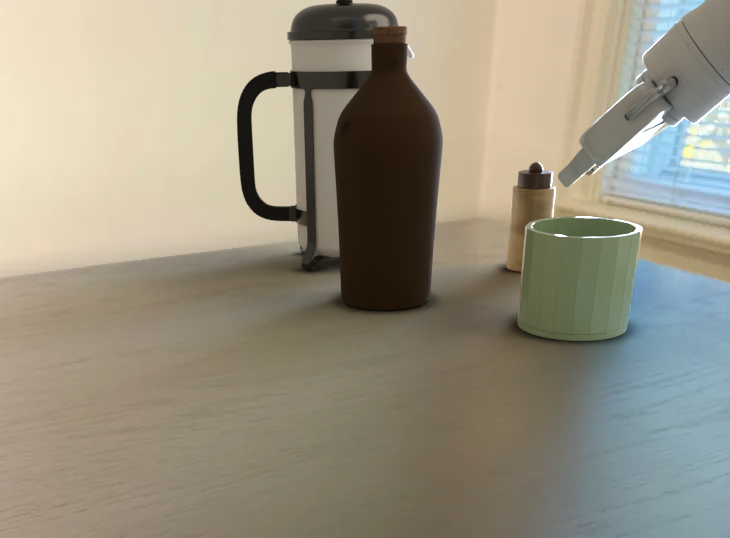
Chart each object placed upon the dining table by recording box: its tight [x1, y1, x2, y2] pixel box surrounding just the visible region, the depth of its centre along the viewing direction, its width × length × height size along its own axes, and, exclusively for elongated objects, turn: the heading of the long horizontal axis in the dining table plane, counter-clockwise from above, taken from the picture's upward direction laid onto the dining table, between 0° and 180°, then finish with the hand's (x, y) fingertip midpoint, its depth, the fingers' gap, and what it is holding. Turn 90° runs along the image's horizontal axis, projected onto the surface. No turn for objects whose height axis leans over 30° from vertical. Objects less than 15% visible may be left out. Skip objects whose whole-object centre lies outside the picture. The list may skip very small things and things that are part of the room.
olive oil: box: [333, 25, 444, 311], centre depth 88 cm, size 11×11×25 cm
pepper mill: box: [505, 161, 557, 273], centre depth 102 cm, size 5×5×12 cm
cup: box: [517, 216, 644, 342], centre depth 82 cm, size 10×10×9 cm
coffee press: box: [236, 0, 415, 272], centre depth 103 cm, size 17×16×30 cm
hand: (574, 175), depth 98 cm, fingers open, 8 cm apart
